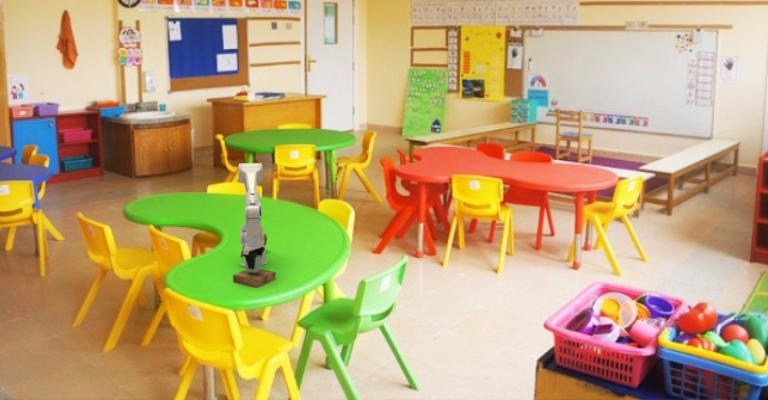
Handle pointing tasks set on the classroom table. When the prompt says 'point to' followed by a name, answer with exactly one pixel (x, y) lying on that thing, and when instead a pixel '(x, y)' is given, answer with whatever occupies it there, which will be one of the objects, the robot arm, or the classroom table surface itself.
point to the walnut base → (254, 277)
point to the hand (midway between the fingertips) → (254, 266)
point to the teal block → (257, 265)
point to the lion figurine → (264, 244)
